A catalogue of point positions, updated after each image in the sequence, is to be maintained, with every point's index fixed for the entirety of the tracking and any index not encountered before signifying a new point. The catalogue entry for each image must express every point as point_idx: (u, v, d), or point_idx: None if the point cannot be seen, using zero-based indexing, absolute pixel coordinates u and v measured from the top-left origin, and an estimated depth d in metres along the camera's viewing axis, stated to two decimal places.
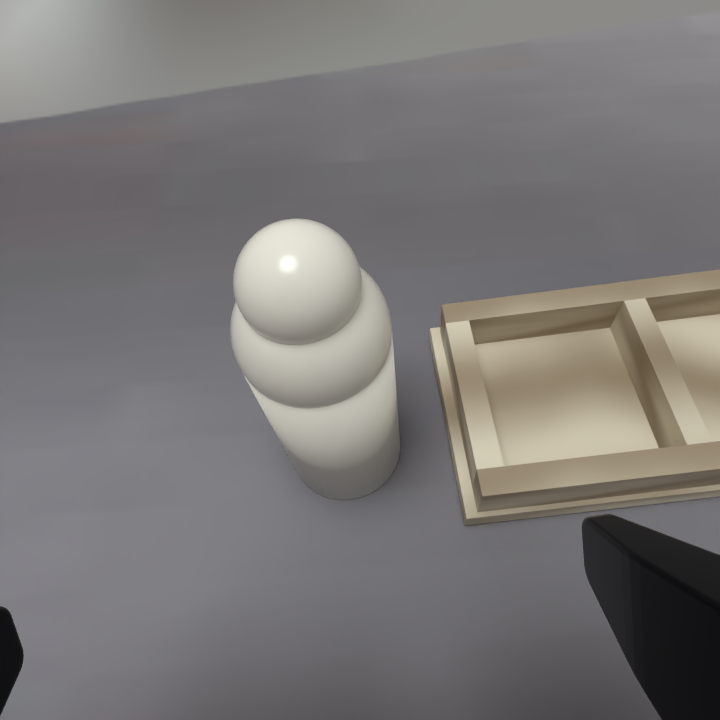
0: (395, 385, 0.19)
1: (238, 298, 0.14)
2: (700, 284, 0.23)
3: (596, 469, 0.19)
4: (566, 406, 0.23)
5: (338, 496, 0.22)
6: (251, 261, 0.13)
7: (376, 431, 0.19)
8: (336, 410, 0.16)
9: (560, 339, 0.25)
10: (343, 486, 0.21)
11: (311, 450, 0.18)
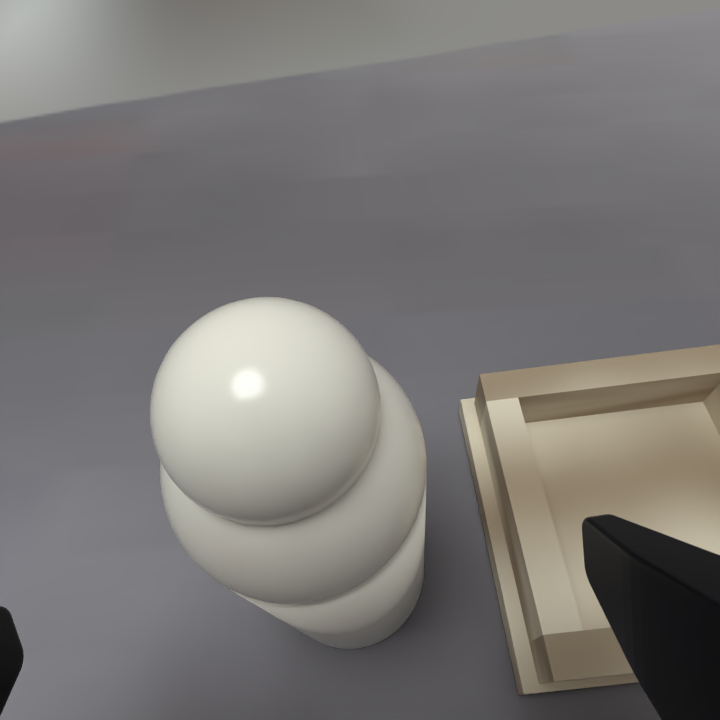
0: None
1: (156, 447, 0.07)
2: None
3: None
4: (654, 517, 0.17)
5: (339, 647, 0.16)
6: (174, 388, 0.07)
7: (398, 593, 0.12)
8: (335, 602, 0.09)
9: (637, 418, 0.18)
10: (346, 643, 0.15)
11: (298, 625, 0.12)
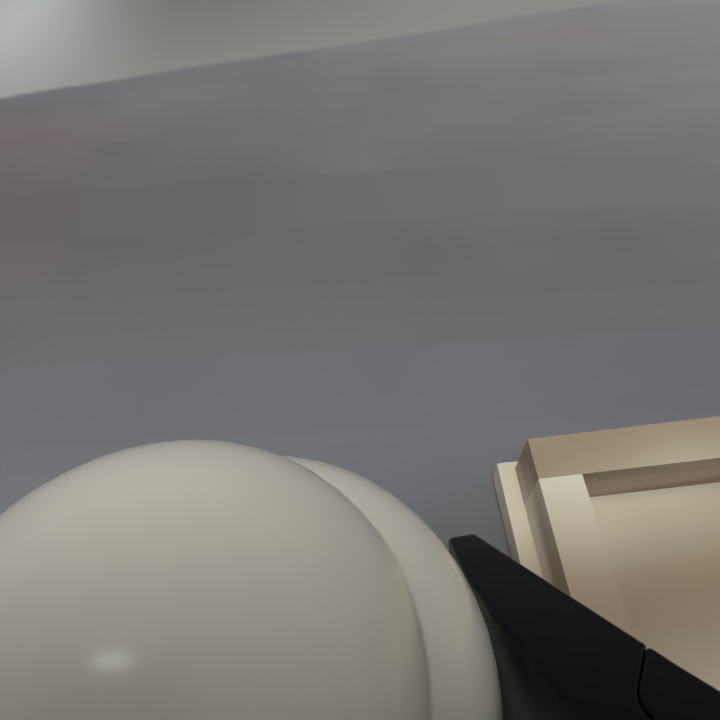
0: None
1: None
2: None
3: None
4: None
5: None
6: None
7: None
8: None
9: None
10: None
11: None
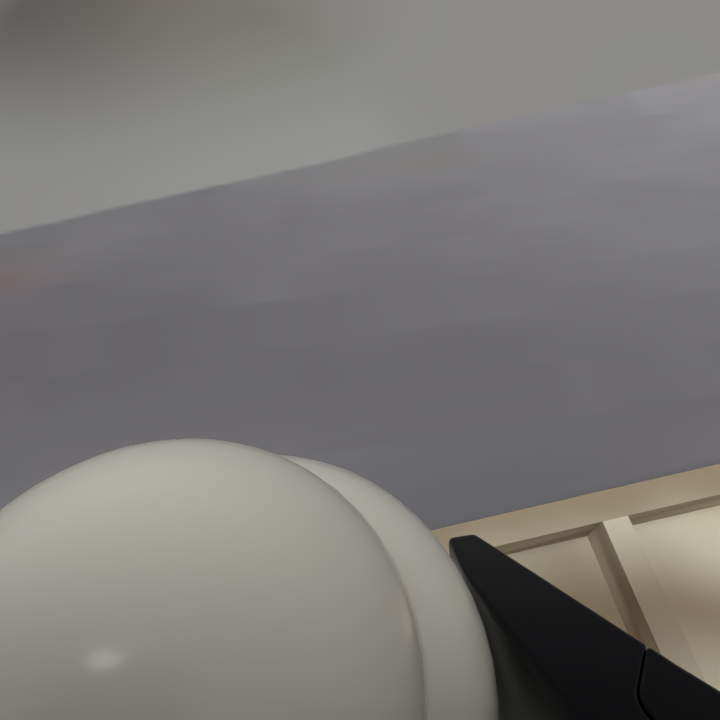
0: None
1: None
2: (691, 490, 0.19)
3: None
4: None
5: None
6: None
7: None
8: None
9: (530, 559, 0.20)
10: None
11: None
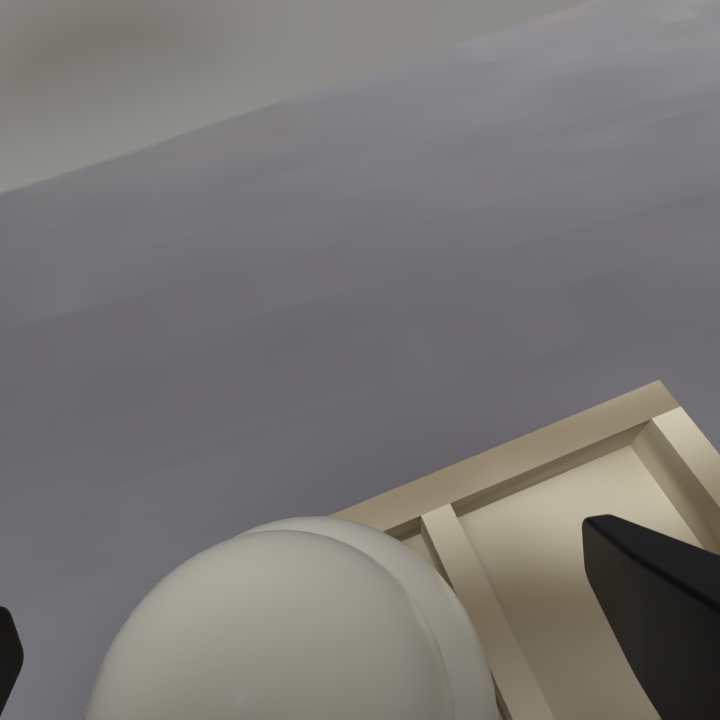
0: None
1: None
2: (521, 460, 0.16)
3: None
4: None
5: None
6: None
7: None
8: None
9: None
10: None
11: None
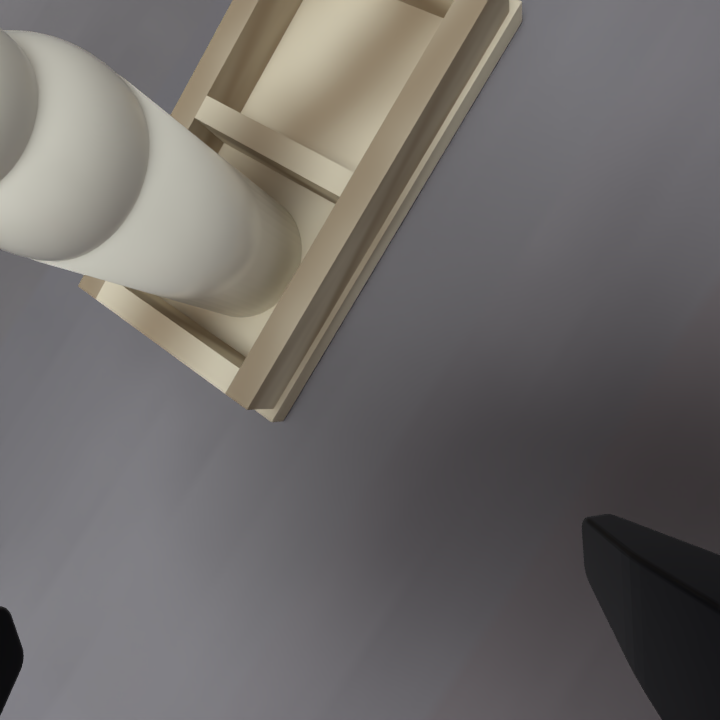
0: (207, 151, 0.15)
1: None
2: (233, 30, 0.19)
3: (299, 294, 0.18)
4: None
5: (266, 305, 0.20)
6: None
7: (226, 214, 0.15)
8: (139, 219, 0.12)
9: None
10: (258, 292, 0.19)
11: (179, 281, 0.15)
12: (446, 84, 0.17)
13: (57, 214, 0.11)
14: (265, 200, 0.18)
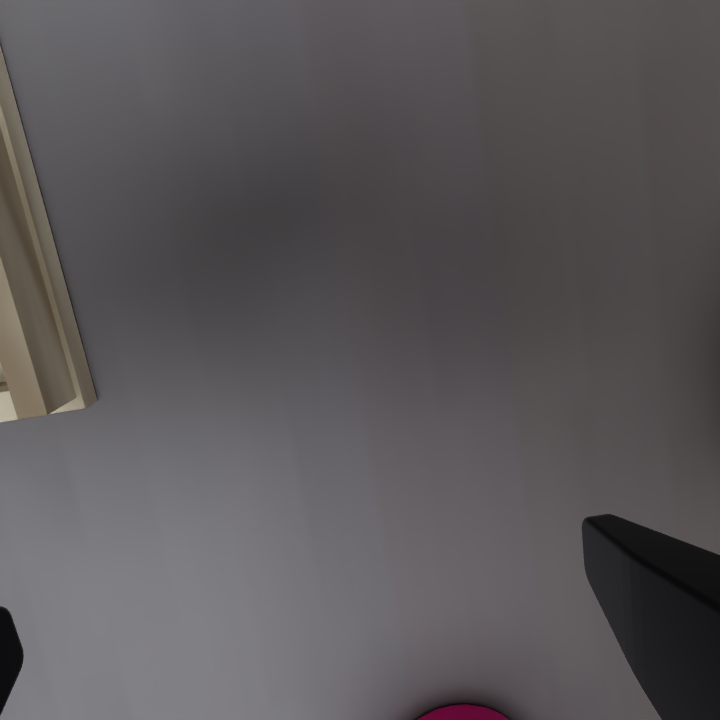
0: None
1: None
2: None
3: None
4: None
5: None
6: None
7: None
8: None
9: None
10: None
11: None
12: None
13: None
14: None
